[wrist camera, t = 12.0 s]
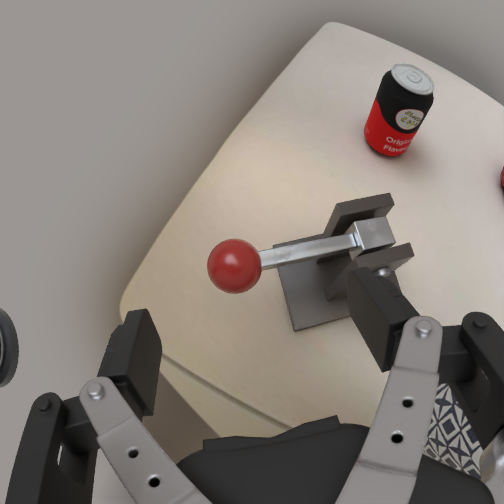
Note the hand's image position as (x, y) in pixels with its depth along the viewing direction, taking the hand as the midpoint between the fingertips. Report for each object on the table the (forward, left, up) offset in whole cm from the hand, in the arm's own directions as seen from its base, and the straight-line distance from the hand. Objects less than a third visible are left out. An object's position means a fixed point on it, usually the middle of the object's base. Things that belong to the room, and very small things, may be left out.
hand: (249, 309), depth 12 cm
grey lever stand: (+9, -6, -20) cm, 22 cm away
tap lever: (+6, -1, -10) cm, 12 cm away
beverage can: (+29, -8, -20) cm, 36 cm away
